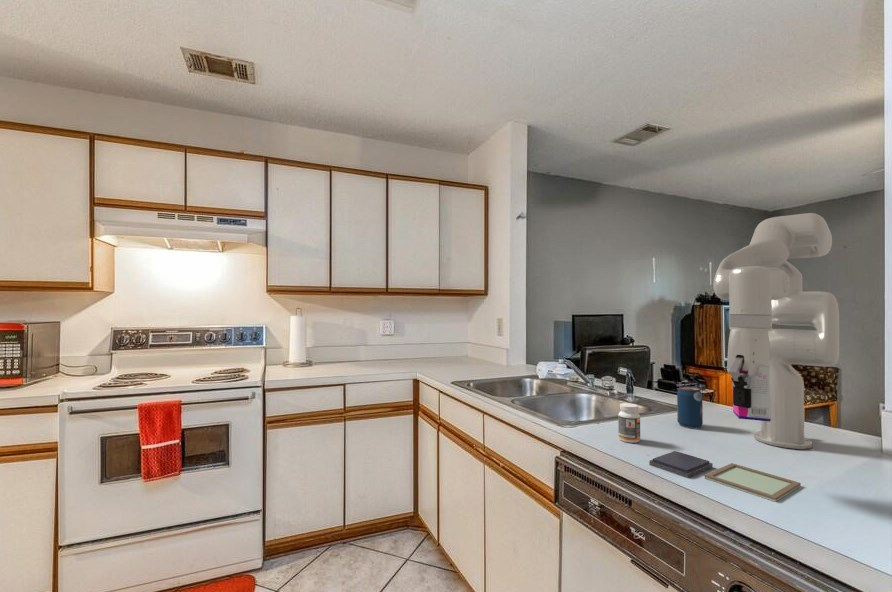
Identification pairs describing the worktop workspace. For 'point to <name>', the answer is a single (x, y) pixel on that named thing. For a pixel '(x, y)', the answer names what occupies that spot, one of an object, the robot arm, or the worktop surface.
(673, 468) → the pad
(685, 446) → the worktop surface
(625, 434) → the pill bottle
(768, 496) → the brown picture frame
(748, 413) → the supplement box
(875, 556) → the worktop surface
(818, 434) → the worktop surface
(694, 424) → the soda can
